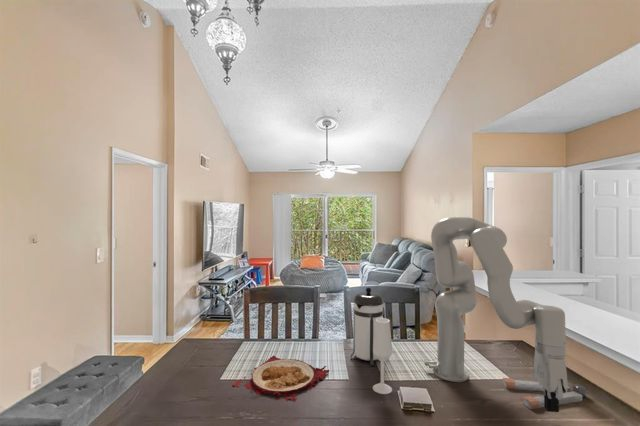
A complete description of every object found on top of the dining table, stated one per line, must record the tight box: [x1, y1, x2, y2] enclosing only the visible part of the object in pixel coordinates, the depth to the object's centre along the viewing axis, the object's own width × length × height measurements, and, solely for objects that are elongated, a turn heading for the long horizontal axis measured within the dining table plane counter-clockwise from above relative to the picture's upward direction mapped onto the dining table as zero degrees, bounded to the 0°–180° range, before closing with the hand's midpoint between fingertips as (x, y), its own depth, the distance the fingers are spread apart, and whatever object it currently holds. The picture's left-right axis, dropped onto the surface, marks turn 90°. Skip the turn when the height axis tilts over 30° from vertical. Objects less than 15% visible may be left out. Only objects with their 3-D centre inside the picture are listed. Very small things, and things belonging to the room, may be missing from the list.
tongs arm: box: [522, 390, 583, 410], centre depth 106 cm, size 20×3×2 cm, turn 102°
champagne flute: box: [372, 317, 393, 395], centre depth 114 cm, size 7×7×24 cm
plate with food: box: [232, 355, 330, 403], centre depth 120 cm, size 25×26×4 cm
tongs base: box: [502, 377, 587, 399], centre depth 113 cm, size 25×5×3 cm, turn 80°
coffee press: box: [350, 287, 386, 367], centre depth 138 cm, size 17×16×30 cm
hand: (551, 410), depth 97 cm, fingers closed
